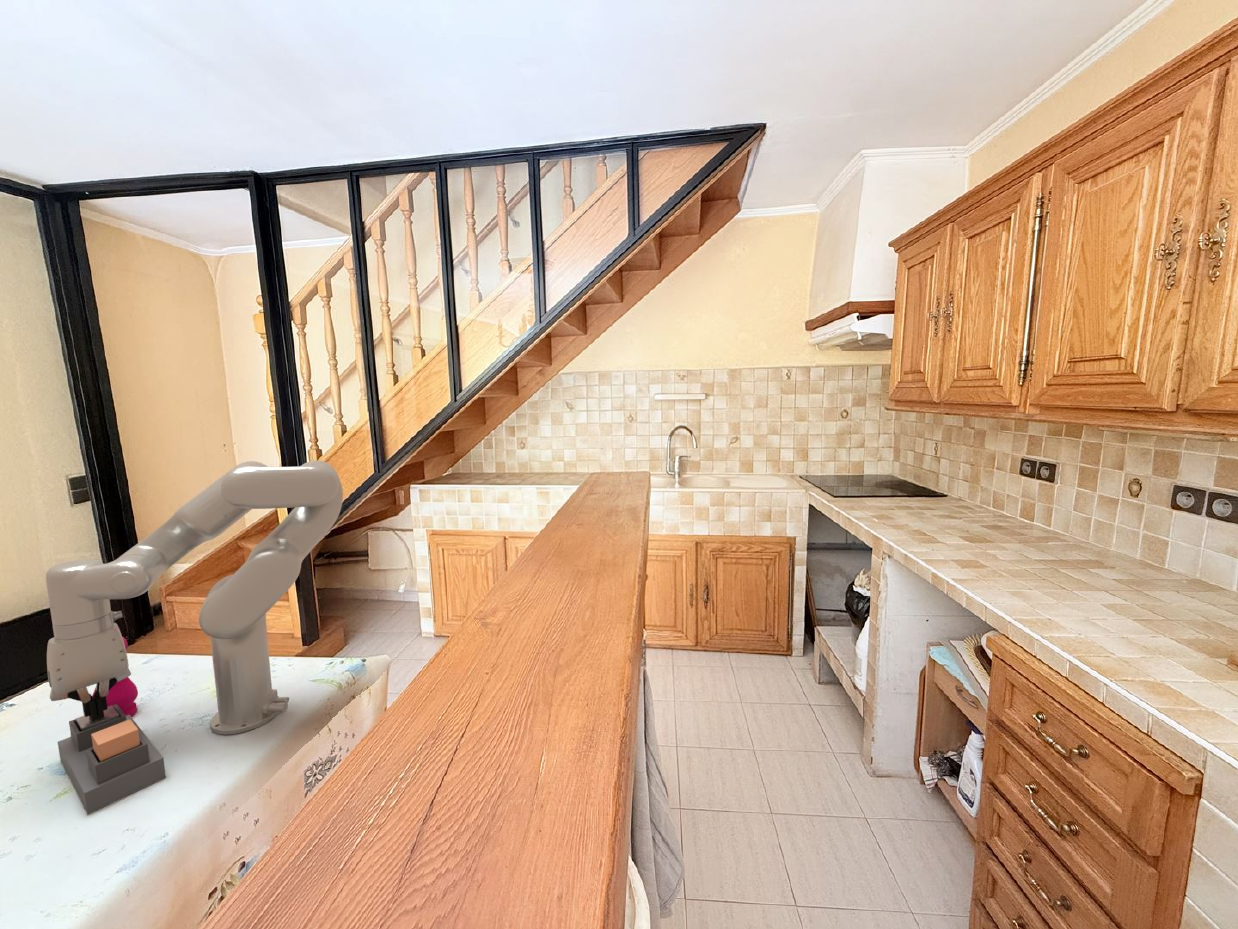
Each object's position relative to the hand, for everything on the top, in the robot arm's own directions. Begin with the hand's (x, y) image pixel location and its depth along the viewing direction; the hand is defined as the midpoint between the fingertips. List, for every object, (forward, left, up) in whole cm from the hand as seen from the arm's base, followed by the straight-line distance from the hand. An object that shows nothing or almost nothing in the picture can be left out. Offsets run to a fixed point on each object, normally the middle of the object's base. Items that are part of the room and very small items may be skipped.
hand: (96, 716), depth 96 cm
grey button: (0, 0, -3) cm, 3 cm away
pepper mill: (+8, -12, -8) cm, 16 cm away
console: (-6, +4, -8) cm, 11 cm away
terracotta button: (-12, +8, -1) cm, 14 cm away
